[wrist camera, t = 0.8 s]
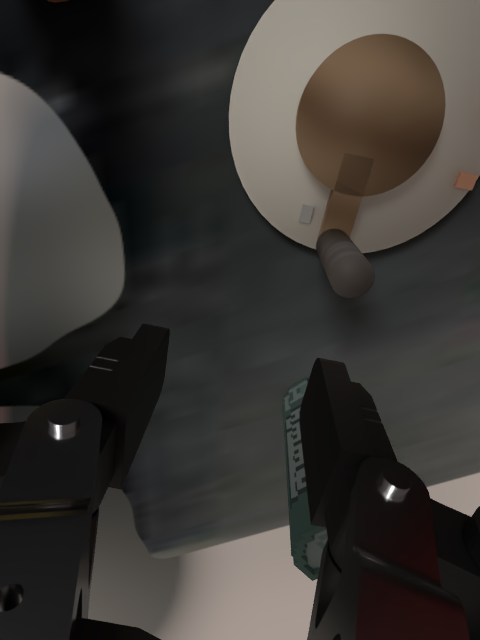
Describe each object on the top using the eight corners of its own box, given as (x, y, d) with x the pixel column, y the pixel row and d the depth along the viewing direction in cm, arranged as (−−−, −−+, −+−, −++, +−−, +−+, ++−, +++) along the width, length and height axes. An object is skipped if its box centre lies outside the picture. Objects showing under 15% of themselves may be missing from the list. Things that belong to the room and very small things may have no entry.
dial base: (258, -78, 23) (258, -91, 21) (553, -13, 23) (571, -22, 22) (212, 225, 30) (209, 229, 29) (432, 269, 31) (440, 275, 30)
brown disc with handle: (316, 25, 23) (340, -29, 16) (459, 56, 24) (552, 18, 16) (267, 243, 29) (267, 282, 22) (382, 266, 30) (423, 313, 22)
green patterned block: (308, 437, 39) (329, 596, 26) (271, 398, 37) (274, 547, 24) (360, 408, 37) (412, 564, 24) (324, 366, 35) (359, 508, 22)
